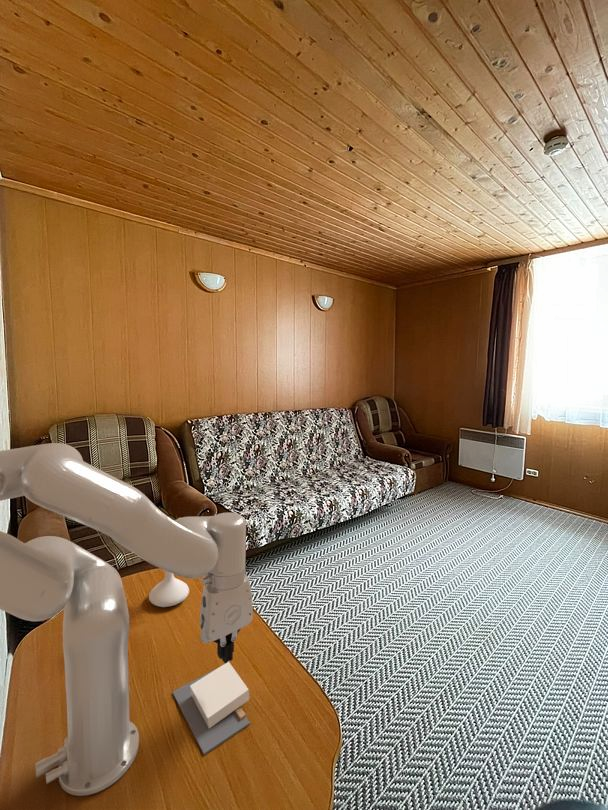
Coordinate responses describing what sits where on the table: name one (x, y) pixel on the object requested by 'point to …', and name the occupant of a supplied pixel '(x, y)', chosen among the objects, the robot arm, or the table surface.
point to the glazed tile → (219, 694)
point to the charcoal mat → (198, 726)
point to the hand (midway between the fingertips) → (225, 657)
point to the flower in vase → (169, 591)
